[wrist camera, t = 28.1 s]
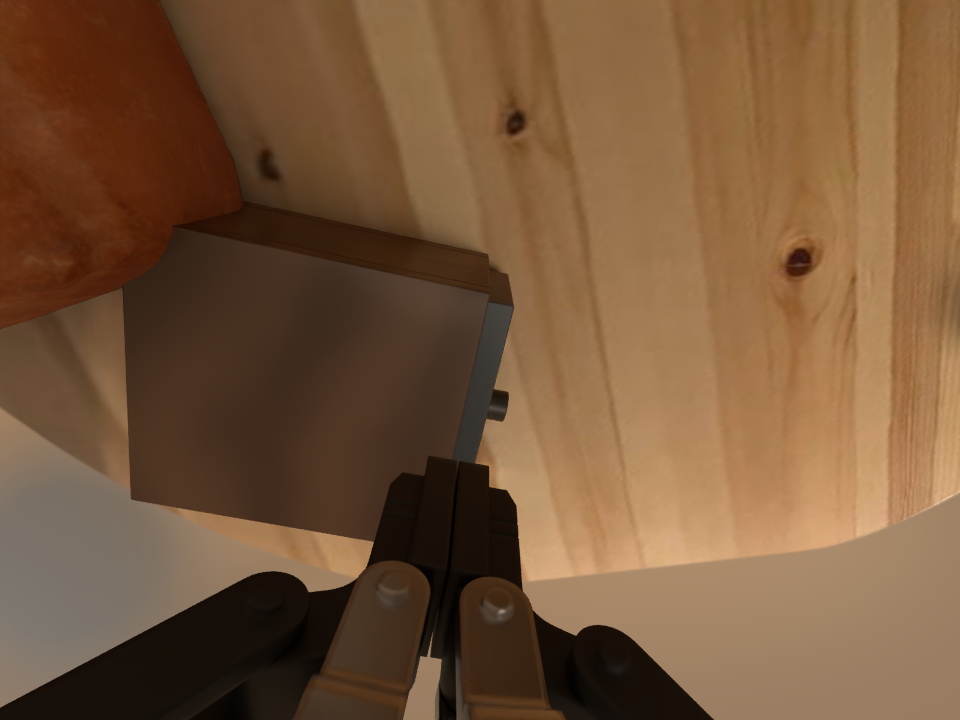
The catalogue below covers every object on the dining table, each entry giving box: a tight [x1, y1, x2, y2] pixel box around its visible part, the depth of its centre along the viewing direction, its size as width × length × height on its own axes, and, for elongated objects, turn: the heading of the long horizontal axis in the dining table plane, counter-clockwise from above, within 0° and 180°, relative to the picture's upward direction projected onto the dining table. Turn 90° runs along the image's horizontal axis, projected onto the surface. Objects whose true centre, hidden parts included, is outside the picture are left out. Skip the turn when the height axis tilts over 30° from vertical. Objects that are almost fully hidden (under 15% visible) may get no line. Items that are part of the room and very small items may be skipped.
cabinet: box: [123, 201, 490, 542], centre depth 28 cm, size 15×14×8 cm
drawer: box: [452, 270, 514, 473], centre depth 28 cm, size 15×13×6 cm
